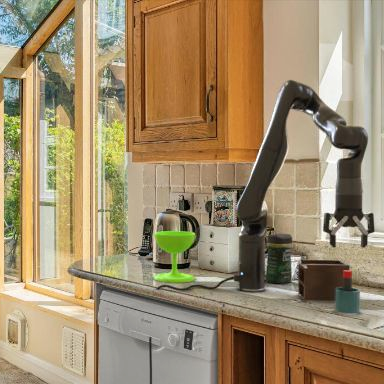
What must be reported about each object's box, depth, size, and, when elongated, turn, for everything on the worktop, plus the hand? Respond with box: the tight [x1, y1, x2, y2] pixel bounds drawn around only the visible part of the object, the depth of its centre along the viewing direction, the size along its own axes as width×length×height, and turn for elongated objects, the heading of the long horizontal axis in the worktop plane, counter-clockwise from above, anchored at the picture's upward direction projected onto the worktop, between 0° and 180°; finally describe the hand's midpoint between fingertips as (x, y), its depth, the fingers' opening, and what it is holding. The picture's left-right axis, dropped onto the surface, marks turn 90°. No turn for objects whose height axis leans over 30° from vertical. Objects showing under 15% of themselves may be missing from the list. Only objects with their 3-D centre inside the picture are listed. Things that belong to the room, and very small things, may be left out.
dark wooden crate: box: [297, 259, 350, 302], centre depth 196 cm, size 14×11×12 cm
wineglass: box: [153, 230, 196, 284], centre depth 232 cm, size 16×16×18 cm
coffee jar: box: [265, 232, 293, 284], centre depth 226 cm, size 10×8×19 cm
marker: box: [343, 269, 353, 292], centre depth 177 cm, size 2×2×12 cm
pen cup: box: [334, 287, 361, 315], centre depth 177 cm, size 7×7×7 cm
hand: (348, 247), depth 177 cm, fingers open, 8 cm apart
